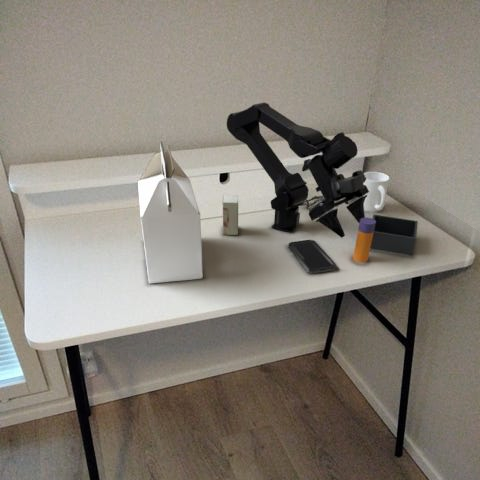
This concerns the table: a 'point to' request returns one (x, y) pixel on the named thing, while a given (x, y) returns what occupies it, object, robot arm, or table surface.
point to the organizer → (394, 234)
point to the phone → (311, 256)
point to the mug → (375, 191)
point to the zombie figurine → (314, 201)
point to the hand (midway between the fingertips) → (354, 231)
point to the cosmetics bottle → (230, 214)
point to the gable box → (169, 221)
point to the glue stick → (364, 239)
